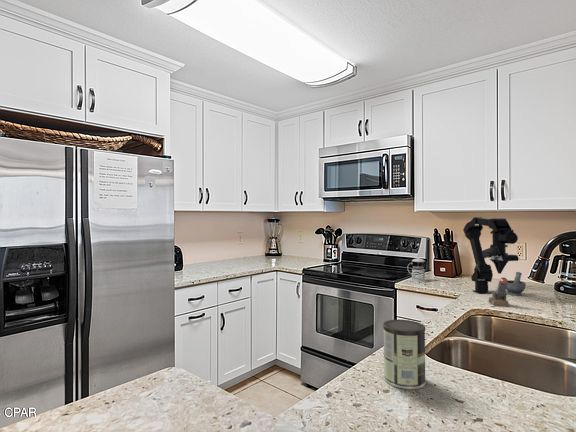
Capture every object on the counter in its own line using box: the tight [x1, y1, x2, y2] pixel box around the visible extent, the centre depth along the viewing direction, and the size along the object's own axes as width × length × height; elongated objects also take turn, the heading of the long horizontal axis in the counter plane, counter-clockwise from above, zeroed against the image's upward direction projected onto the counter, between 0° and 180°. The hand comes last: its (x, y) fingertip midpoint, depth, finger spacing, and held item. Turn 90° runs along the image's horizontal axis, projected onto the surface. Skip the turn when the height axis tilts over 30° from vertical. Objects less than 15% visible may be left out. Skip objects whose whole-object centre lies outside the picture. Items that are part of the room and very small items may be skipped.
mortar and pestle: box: [506, 271, 527, 297], centre depth 188 cm, size 11×9×12 cm
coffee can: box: [382, 319, 427, 390], centre depth 89 cm, size 10×10×14 cm
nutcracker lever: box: [495, 277, 508, 299], centre depth 163 cm, size 3×3×12 cm
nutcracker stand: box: [488, 292, 509, 308], centre depth 167 cm, size 8×6×6 cm
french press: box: [407, 243, 426, 282], centre depth 228 cm, size 10×12×25 cm
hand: (499, 273), depth 178 cm, fingers closed
